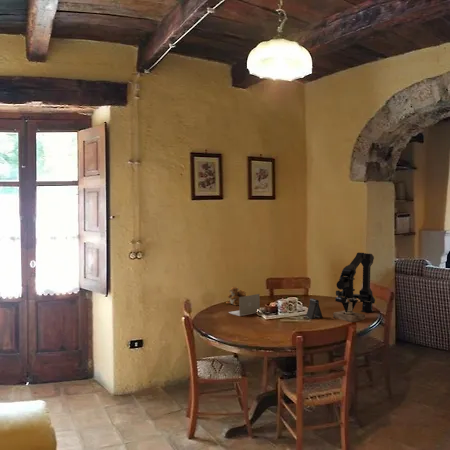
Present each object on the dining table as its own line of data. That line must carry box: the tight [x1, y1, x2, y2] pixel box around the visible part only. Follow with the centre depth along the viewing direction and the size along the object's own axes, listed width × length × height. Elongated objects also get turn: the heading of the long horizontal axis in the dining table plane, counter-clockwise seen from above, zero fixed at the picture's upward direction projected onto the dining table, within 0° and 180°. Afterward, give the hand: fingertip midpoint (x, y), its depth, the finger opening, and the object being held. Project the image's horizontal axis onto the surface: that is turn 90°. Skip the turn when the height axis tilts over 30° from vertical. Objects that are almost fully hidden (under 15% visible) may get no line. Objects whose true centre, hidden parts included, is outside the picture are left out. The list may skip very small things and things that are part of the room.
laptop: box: [228, 293, 261, 317], centre depth 337 cm, size 18×12×13 cm
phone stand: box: [306, 298, 323, 320], centre depth 320 cm, size 9×6×12 cm, turn 117°
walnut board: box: [332, 310, 366, 323], centre depth 316 cm, size 12×16×3 cm
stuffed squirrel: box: [225, 286, 247, 306], centre depth 366 cm, size 10×14×13 cm
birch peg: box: [345, 301, 353, 315], centre depth 315 cm, size 4×4×9 cm
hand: (348, 311), depth 315 cm, fingers closed on birch peg, 4 cm apart
